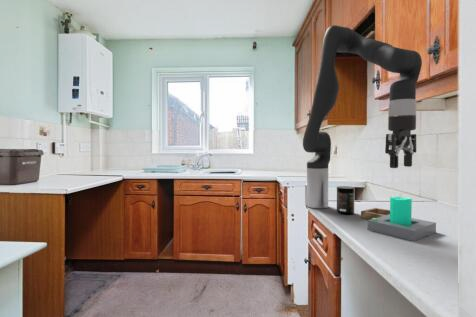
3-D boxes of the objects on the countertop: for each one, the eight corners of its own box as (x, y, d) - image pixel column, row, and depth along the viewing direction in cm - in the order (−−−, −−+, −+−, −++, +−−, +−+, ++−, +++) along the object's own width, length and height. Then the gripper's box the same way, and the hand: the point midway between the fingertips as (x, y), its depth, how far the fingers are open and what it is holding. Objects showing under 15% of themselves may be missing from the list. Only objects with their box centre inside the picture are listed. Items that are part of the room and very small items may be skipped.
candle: (416, 232, 89) (416, 194, 88) (400, 234, 87) (401, 195, 86) (399, 227, 94) (400, 191, 94) (385, 229, 93) (385, 192, 92)
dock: (367, 229, 93) (367, 218, 92) (390, 222, 101) (390, 212, 100) (414, 241, 81) (414, 228, 81) (435, 232, 89) (436, 220, 89)
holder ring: (360, 217, 108) (360, 211, 108) (375, 214, 113) (375, 207, 113) (387, 223, 99) (387, 216, 99) (402, 219, 105) (402, 212, 105)
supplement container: (356, 212, 116) (356, 186, 116) (352, 216, 111) (352, 188, 110) (338, 210, 120) (338, 185, 120) (334, 214, 114) (334, 187, 114)
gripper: (401, 117, 97) (400, 165, 98) (377, 115, 89) (376, 167, 90) (425, 115, 91) (424, 166, 91) (402, 112, 83) (401, 169, 83)
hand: (401, 167), depth 90 cm, fingers open, 8 cm apart
